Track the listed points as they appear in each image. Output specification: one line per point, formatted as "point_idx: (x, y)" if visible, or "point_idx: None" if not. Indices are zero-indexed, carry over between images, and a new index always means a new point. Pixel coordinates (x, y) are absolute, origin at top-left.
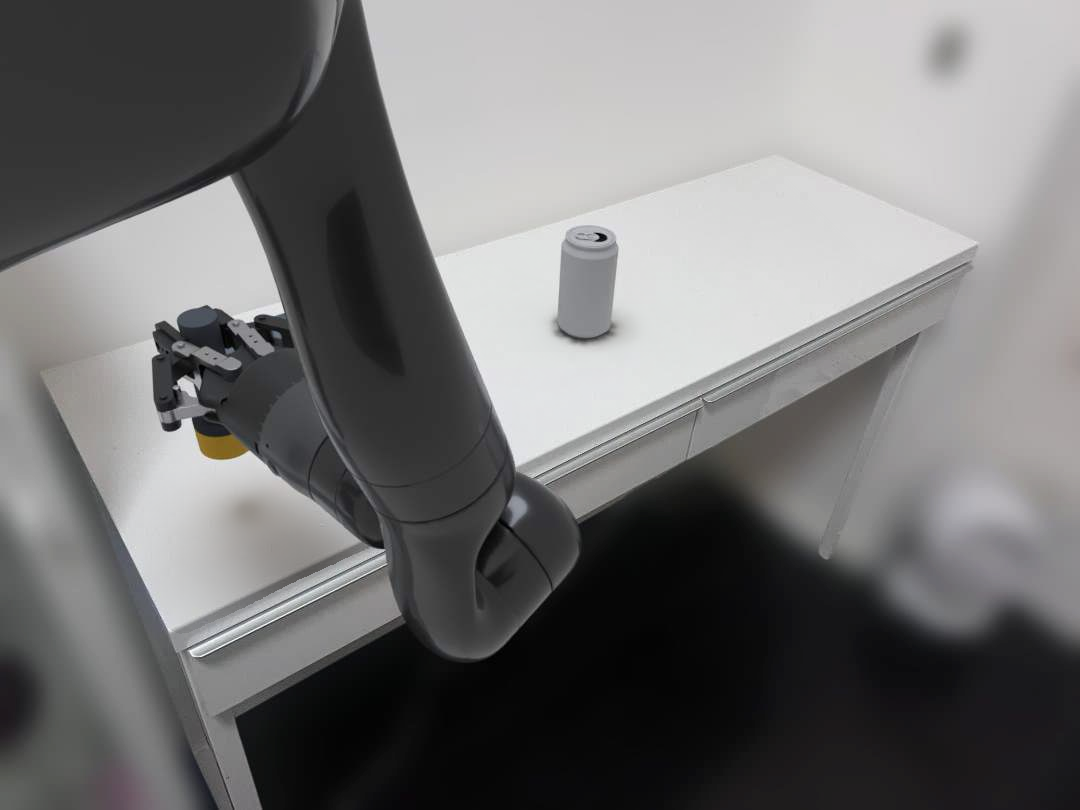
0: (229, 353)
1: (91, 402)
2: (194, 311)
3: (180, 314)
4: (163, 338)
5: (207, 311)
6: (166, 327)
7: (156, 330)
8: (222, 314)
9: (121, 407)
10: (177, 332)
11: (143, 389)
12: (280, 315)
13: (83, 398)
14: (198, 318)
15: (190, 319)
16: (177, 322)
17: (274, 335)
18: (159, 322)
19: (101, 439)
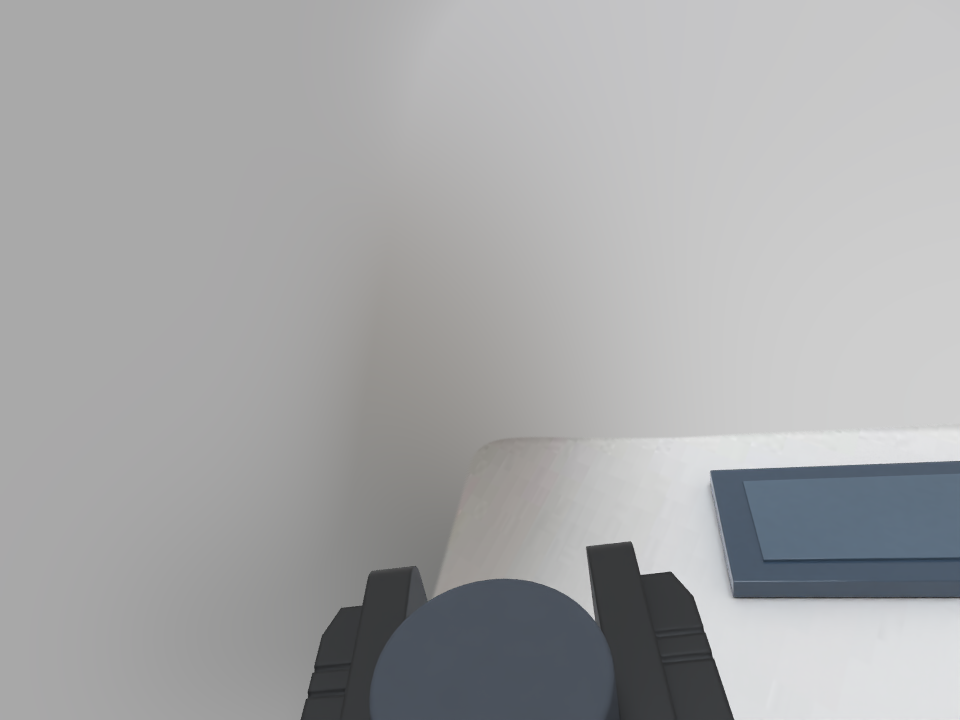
0: (769, 527)
1: (491, 533)
2: (510, 607)
3: (438, 597)
4: (335, 685)
5: (568, 647)
6: (377, 626)
7: (361, 606)
8: (683, 640)
9: (525, 568)
10: None
11: (580, 542)
12: (914, 466)
13: (486, 519)
14: (485, 691)
15: (446, 672)
16: (379, 659)
17: (888, 516)
18: (387, 572)
19: None
